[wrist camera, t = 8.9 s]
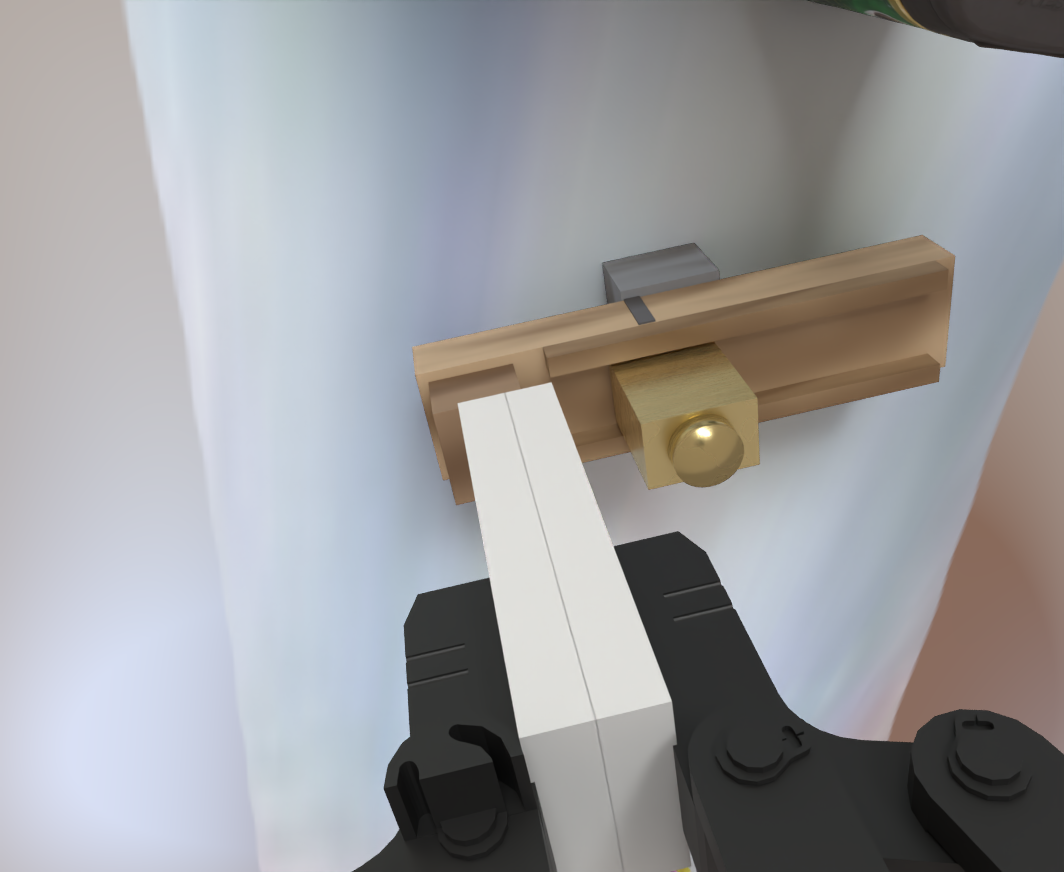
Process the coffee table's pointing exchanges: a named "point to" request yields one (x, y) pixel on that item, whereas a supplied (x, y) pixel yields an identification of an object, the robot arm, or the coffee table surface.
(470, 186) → the coffee table surface
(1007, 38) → the coffee jar
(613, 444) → the beam
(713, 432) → the rider
